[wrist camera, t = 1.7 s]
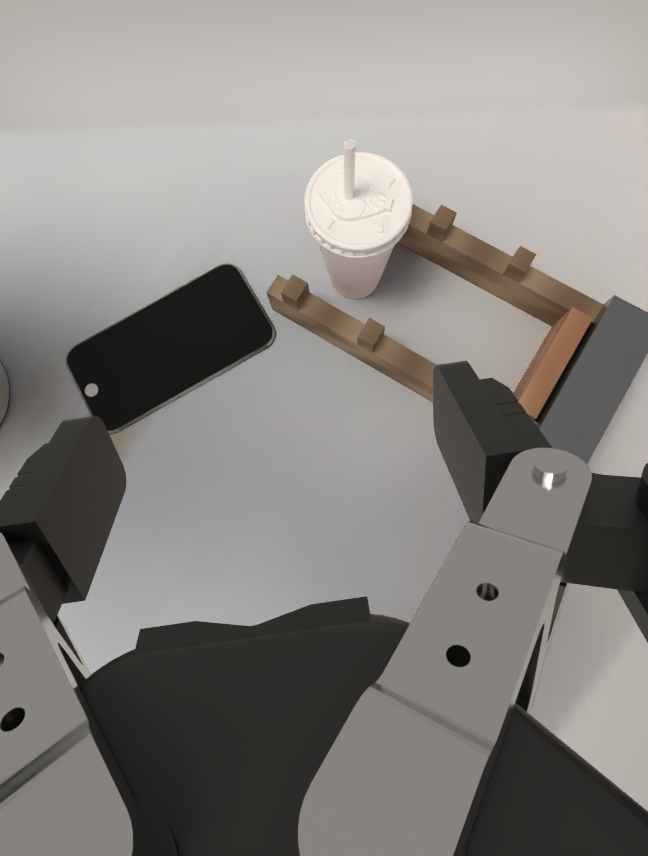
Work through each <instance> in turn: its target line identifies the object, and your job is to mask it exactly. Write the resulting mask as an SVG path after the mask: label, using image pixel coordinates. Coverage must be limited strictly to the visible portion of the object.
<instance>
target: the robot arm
mask: <svg viewBox="0 0 648 856" xmlns="http://www.w3.org/2000/svg"><path fill="white" fill-rule="evenodd" d="M8 400H9V382H8V378H7V375H6V372H5V369H4V367H3V366H2V364H1V362H0V423H1V422H2V420H3V418H4V415H5V412H6V409H7V407H8ZM433 415H434V430H435V436H436V440H437V443H438V446H439V449H440V451H441V453H442V456H443V458H444V460H445V463H446V465H447V467H448V470H449V472H450V474H451V477H452V479H453V481H454V484H455V486H456V488H457V491H458V493H459V495H460V498H461V500H462V502H463V505H464V507H465V509H466V512H467V514H468V516H469V519H470V521H469V522H468V523H467V524H466V525H465V526H464V528H463V529H462V531H461V533H460V535H459V536H458V538H457V540H456V542H455V544H454V545H453V547H452V549H451V551H450V553H449V554H448V556H447V558H446V560H445V562H444V564H443V565H442V567H441V569H440V571H439V573H438V574H437V576H436V578H435V580H434V582H433V583H432V585H431V587H430V589H429V591H428V592H427V594H426V596H425V598H424V600H423V601H422V603H421V605H420V607H419V609H418V610H417V612H416V614H415V616H414V618H413V619H412V621H411V623H408V622H405V621H402V620H399V619H396V618H392V617H388V616H383V615H376V614H370V611H369V605H368V599H367V597H360V598H353V599H346V600H339V601H332V602H325V603H318V604H311V605H309V606H306V607H303V608H301V609H298V610H295V611H293V612H290V613H287V614H285V615H282V616H279V617H277V618H274V619H272V620H269V621H266V622H264V623H261V624H258V625H255V626H241V625H230V624H220V623H209V622H199V621H194V622H187V623H180V624H173V625H166V626H159V627H152V628H145V629H140V632H139V636H138V640H137V644H136V648H135V649H134V650H132V651H130V652H128V653H126V654H124V655H122V656H120V657H117V658H116V659H114V660H112V661H111V662H109V663H107V664H106V665H104V666H103V667H101V668H100V669H98V670H97V671H96V672H94V673H93V674H92V675H91V673H90V672H89V670H88V668H87V666H86V664H85V662H84V660H83V658H82V656H81V655H80V653H79V651H78V649H77V647H76V645H75V643H74V641H73V640H72V638H71V636H70V634H69V632H68V630H67V628H66V626H65V624H64V623H63V621H62V620H61V618H60V617H59V615H58V612H59V609H60V607H61V605H62V604H64V603H71V602H78V601H84V600H85V599H86V597H87V594H88V591H89V588H90V586H91V583H92V580H93V578H94V575H95V572H96V569H97V567H98V564H99V561H100V558H101V556H102V553H103V550H104V547H105V545H106V542H107V539H108V536H109V534H110V531H111V528H112V525H113V523H114V520H115V517H116V514H117V512H118V509H119V506H120V504H121V501H122V498H123V495H124V493H125V489H126V475H125V470H124V467H123V464H122V462H121V460H120V458H119V455H118V453H117V451H116V449H115V447H114V444H113V442H112V440H111V438H110V436H109V433H108V431H107V429H106V427H105V425H104V423H103V421H102V420H101V419H100V418H99V417H98V416H91V417H84V418H78V419H71V420H65V421H63V422H62V423H61V424H60V426H59V427H58V429H57V431H56V432H55V434H54V436H53V437H52V439H51V440H50V442H49V444H44V445H43V446H42V447H41V448H40V449H39V450H37V451H36V452H35V453H34V454H33V455H31V456H30V457H29V458H28V459H27V460H26V462H25V463H24V465H23V467H22V468H21V470H20V471H19V473H18V474H17V475H18V477H15V479H14V480H13V482H12V484H11V485H10V487H9V488H10V490H7V491H6V493H5V494H4V496H3V497H2V499H1V501H0V856H648V811H646V810H645V809H644V808H643V807H642V806H640V805H639V804H638V803H637V802H635V801H634V800H633V799H632V798H631V797H629V796H628V795H627V794H626V793H625V792H623V791H622V790H621V789H620V788H618V787H617V786H616V785H615V784H614V783H612V782H611V781H610V780H609V779H607V778H606V777H605V776H604V775H603V774H601V773H600V772H599V771H598V770H597V769H595V768H594V767H593V766H592V765H590V764H589V763H588V762H587V761H586V760H584V759H583V758H582V757H581V756H579V755H578V754H577V753H576V752H575V751H573V750H572V749H571V748H570V747H569V746H567V745H566V744H565V743H564V742H562V741H561V740H560V739H559V738H558V737H556V736H555V735H554V734H553V733H551V732H550V731H549V730H548V729H547V728H545V727H544V726H543V725H542V724H540V723H539V722H538V721H537V720H536V719H534V718H533V717H532V716H531V715H530V714H529V713H530V710H531V706H532V703H533V700H534V697H535V693H536V690H537V686H538V683H539V679H540V675H541V671H542V667H543V664H544V660H545V657H546V653H547V650H548V647H549V644H550V641H551V638H552V635H553V631H554V628H555V625H556V622H557V619H558V616H559V613H560V610H561V607H562V604H563V600H564V597H565V594H566V591H567V588H568V585H569V583H573V584H581V585H588V586H596V587H604V588H611V589H617V590H618V592H619V593H620V595H621V597H622V599H623V600H624V602H625V604H626V606H627V607H628V609H629V611H630V613H631V614H632V616H633V618H634V620H635V621H636V623H637V625H638V627H639V628H640V630H641V632H642V633H643V635H644V637H645V639H646V640H647V642H648V463H647V464H646V466H645V467H644V469H643V473H642V476H641V478H638V477H624V476H610V475H601V474H595V473H591V471H590V468H589V467H588V465H587V464H586V463H585V462H584V461H583V460H581V459H580V458H579V457H577V456H575V455H573V454H571V453H569V452H566V451H563V450H559V449H554V448H552V446H551V445H550V443H549V442H548V441H547V439H546V438H545V437H544V435H543V434H542V432H541V431H540V430H539V428H538V427H537V426H536V424H535V423H534V422H533V420H532V419H531V417H530V416H529V415H528V414H526V411H525V409H524V408H523V406H522V405H521V404H520V403H518V400H517V398H516V397H515V395H514V394H513V393H512V391H511V390H510V389H509V388H508V387H507V386H505V385H503V384H501V383H500V382H498V381H496V380H495V379H493V378H488V379H482V380H479V378H478V377H477V375H476V374H475V372H474V371H473V369H472V367H471V366H470V364H469V363H468V362H467V361H462V362H455V363H449V364H442V365H436V366H435V367H434V370H433Z"/></svg>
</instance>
